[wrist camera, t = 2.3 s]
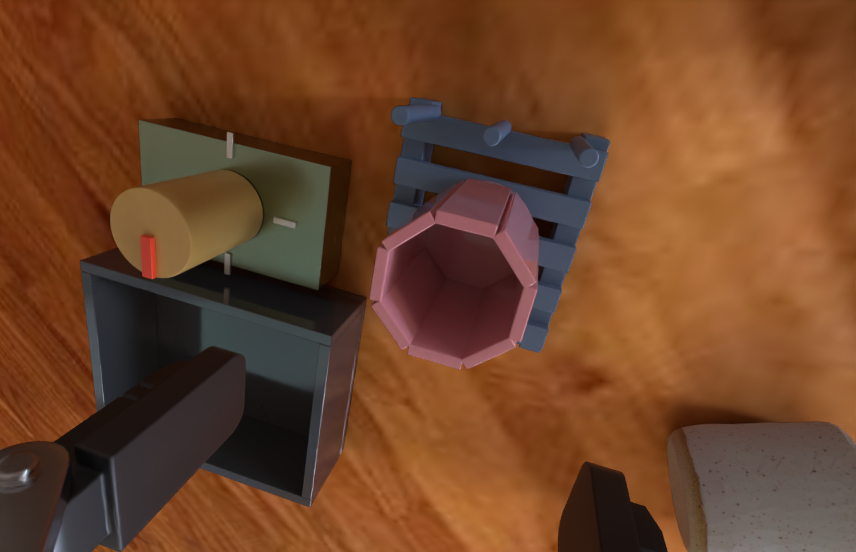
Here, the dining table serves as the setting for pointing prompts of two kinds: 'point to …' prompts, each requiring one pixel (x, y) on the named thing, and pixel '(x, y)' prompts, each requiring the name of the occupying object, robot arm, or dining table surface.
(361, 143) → the dining table surface
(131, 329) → the dark grey open box
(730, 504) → the ceramic mug
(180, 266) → the tap knob
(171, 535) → the dining table surface
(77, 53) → the dining table surface
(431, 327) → the cup
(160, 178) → the tap panel
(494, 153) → the drying rack
